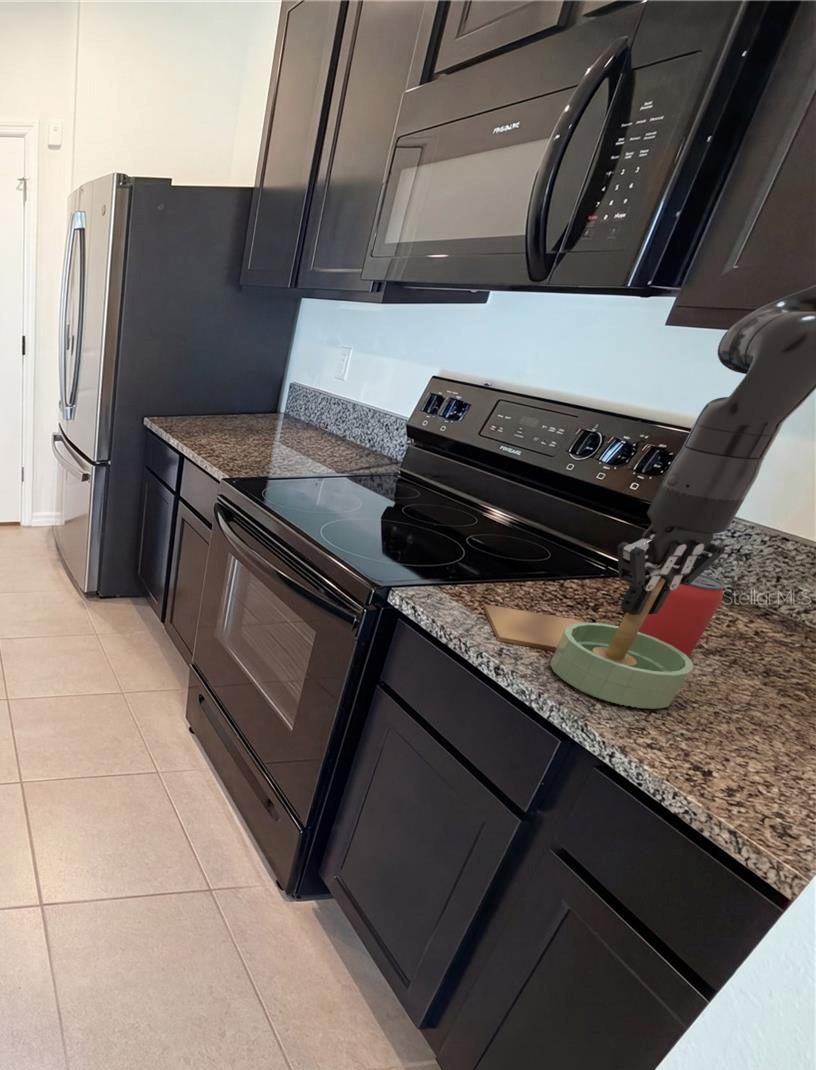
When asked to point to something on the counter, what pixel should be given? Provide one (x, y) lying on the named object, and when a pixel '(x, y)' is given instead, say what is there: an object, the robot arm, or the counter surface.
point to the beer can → (685, 613)
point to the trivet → (527, 627)
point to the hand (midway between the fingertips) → (638, 611)
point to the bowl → (621, 667)
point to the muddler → (628, 632)
